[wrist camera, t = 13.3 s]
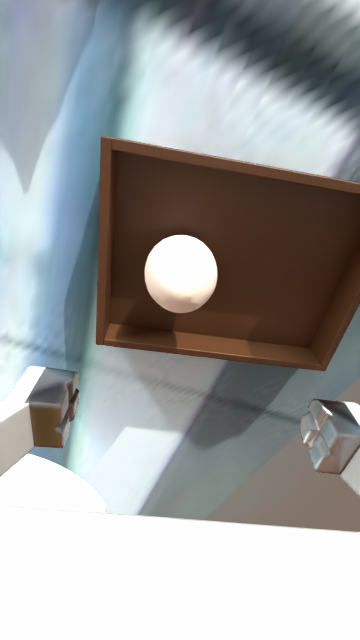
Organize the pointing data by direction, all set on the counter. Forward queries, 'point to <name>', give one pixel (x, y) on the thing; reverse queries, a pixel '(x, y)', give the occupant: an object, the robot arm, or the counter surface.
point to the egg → (180, 273)
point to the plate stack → (47, 487)
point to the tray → (228, 255)
